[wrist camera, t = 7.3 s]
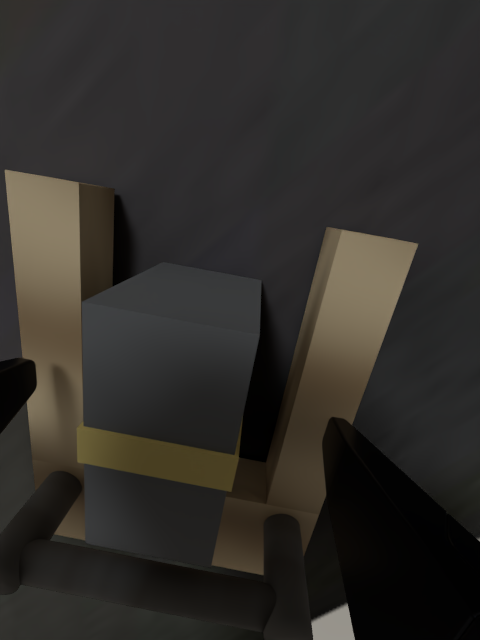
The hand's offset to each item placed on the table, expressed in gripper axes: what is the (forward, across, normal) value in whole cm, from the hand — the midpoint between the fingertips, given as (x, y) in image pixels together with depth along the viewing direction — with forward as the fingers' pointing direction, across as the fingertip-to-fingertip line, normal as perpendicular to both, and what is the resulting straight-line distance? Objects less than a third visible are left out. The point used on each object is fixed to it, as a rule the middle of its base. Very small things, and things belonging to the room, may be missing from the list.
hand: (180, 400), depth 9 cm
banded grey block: (+3, 0, 0) cm, 3 cm away
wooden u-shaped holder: (+3, 0, +2) cm, 3 cm away
